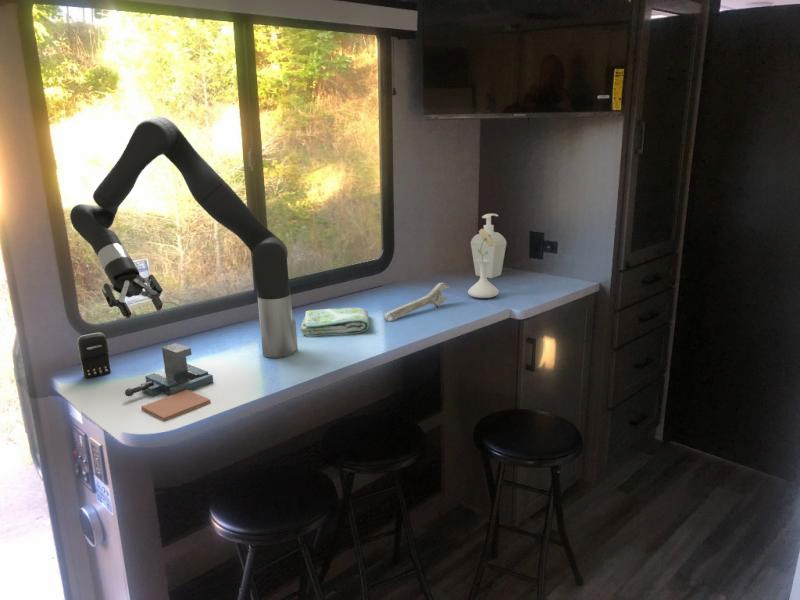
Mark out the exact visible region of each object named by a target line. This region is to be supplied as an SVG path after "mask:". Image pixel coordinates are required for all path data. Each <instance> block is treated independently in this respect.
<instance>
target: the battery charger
mask: <svg viewBox="0 0 800 600" xmlns="http://www.w3.org/2000/svg"><path fill="white" fill-rule="evenodd" d="M76 343H77V349H78V354H79V356H78V357H79V359H80V363H81V369H82V374H83V375H82V376H83V377H85V378H86V379H91V378H96V377H102V376H105V375H109V374H110V373H111V372H112V371H111V365H110V359H109V346H108V342H107V338H106V336H105V334H104V333H103V332H94V333H89V334H84V335H81V336H79V337H78V339H77V342H76Z"/></svg>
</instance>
